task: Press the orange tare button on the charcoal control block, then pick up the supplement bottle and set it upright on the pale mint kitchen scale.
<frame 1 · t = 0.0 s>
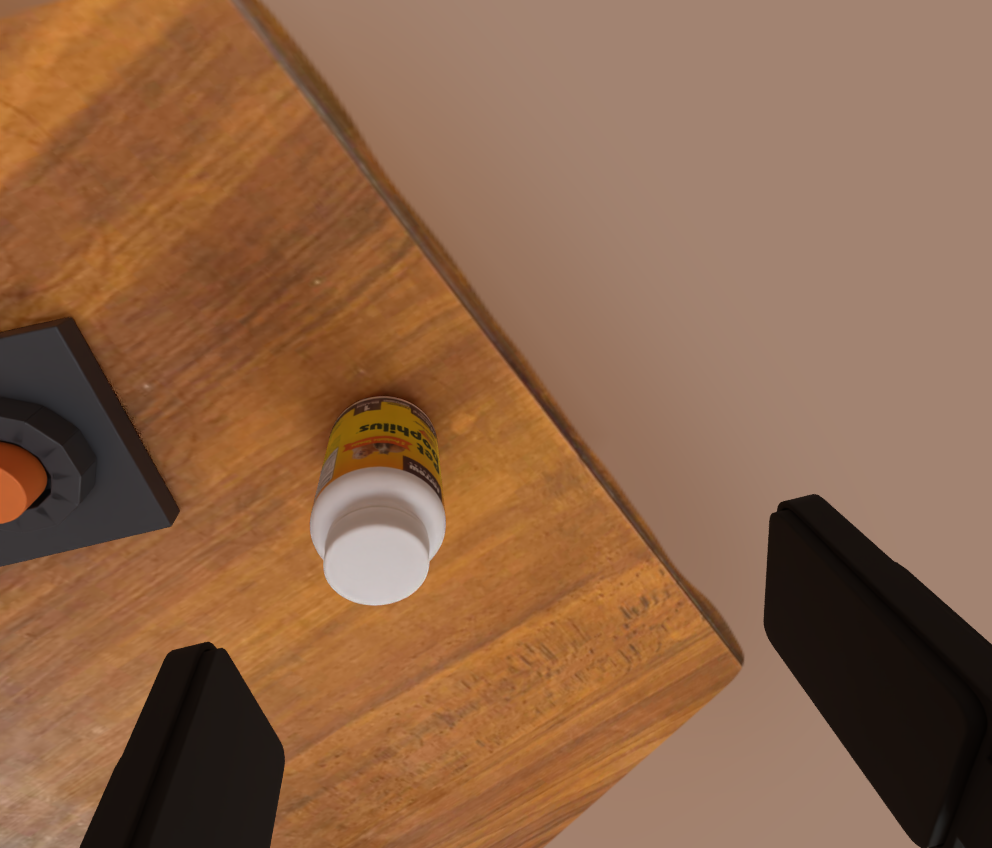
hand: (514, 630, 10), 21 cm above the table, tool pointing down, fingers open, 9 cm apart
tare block: (39, 443, 28), on the table
supplement bottle: (384, 436, 31), on the table
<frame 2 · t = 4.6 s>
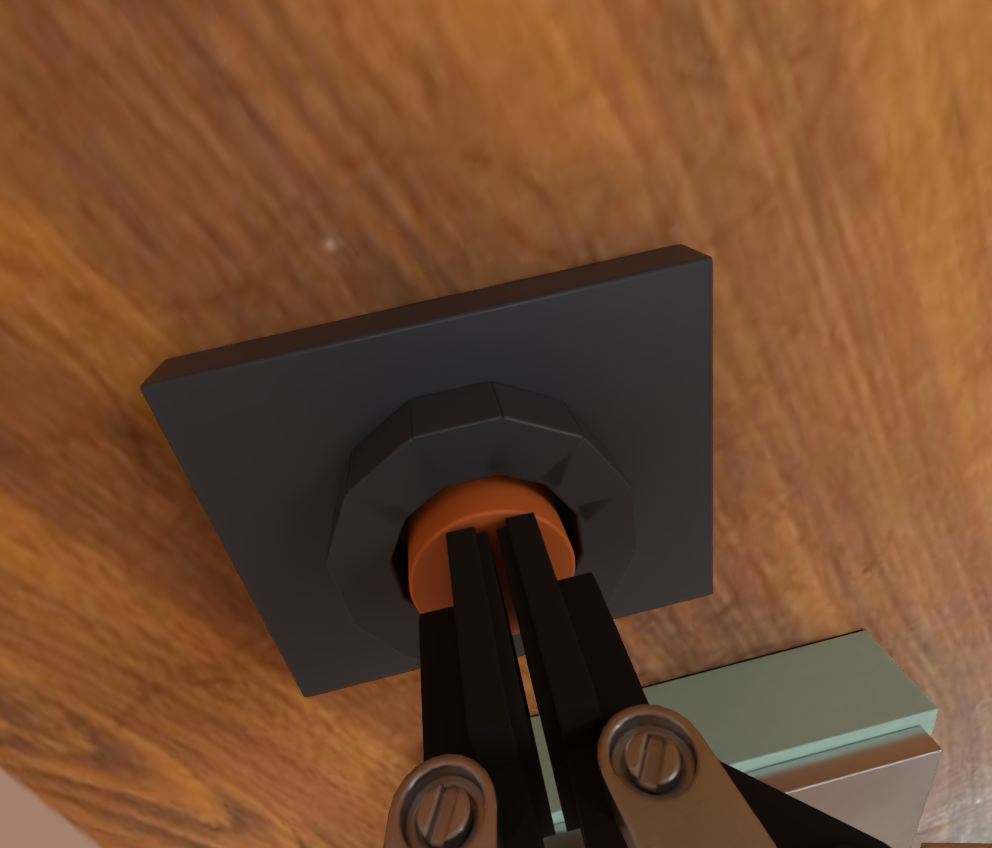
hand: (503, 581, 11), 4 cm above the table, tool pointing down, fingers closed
tare button: (487, 550, 12), point 3 cm above the table, slide at -0.6 cm, touching gripper
scale: (659, 810, 23), on the table
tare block: (472, 476, 14), on the table
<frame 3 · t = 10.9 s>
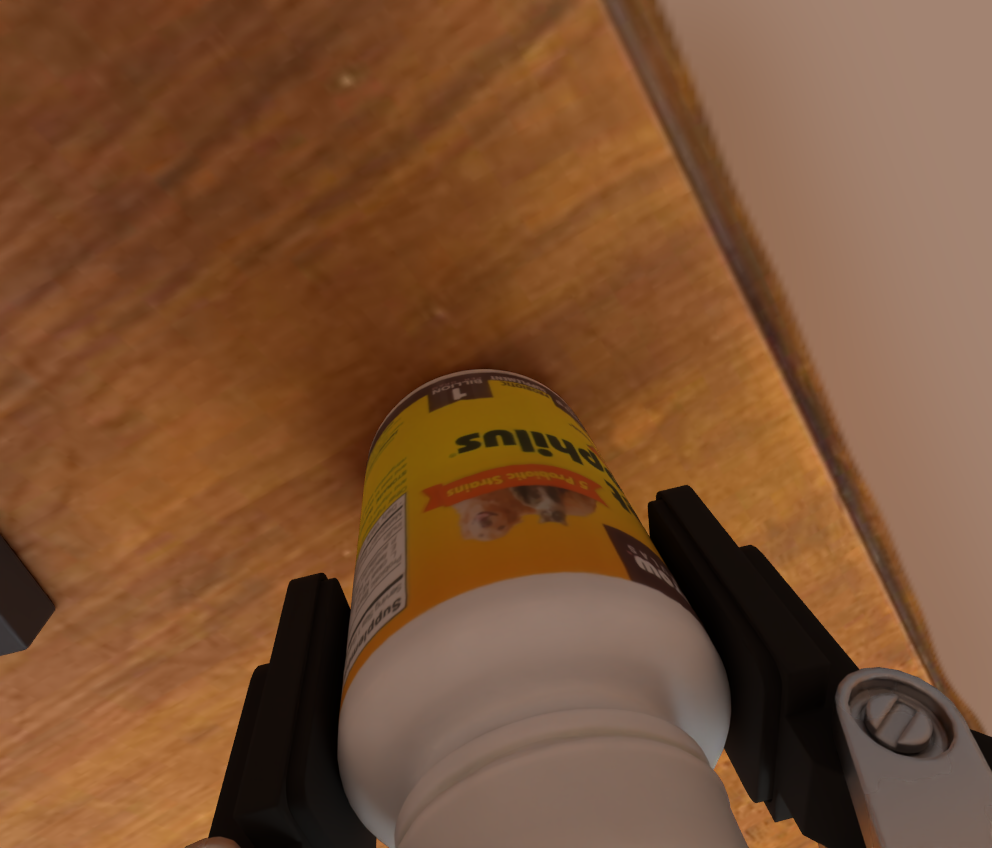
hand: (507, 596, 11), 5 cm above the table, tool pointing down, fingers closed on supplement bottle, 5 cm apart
supplement bottle: (475, 455, 15), on the table, touching gripper
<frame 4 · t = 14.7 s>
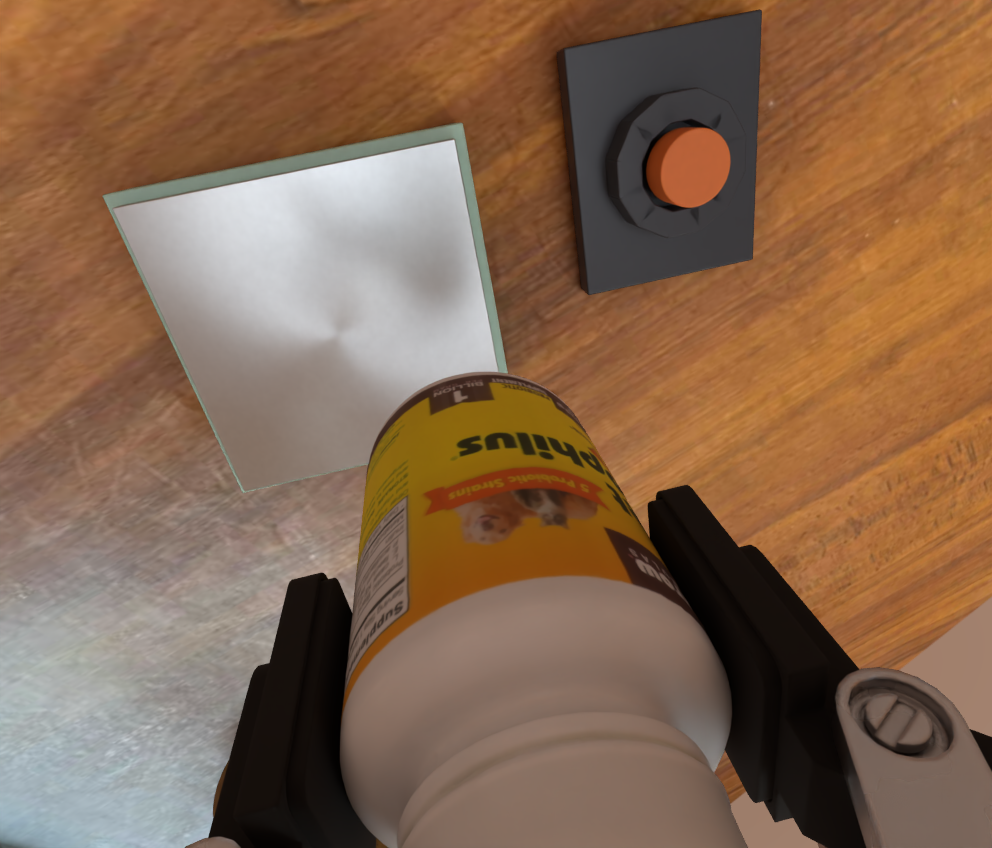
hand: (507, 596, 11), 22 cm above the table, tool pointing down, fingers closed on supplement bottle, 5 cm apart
tare button: (687, 167, 26), point 4 cm above the table, slide at 0.1 cm
scale: (344, 311, 30), on the table
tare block: (656, 162, 29), on the table
supplement bottle: (476, 457, 15), point 17 cm above the table, touching gripper
when the fingers open (9 cm above the table, at t = 18.7 s): supplement bottle stays where it is, resting on scale.
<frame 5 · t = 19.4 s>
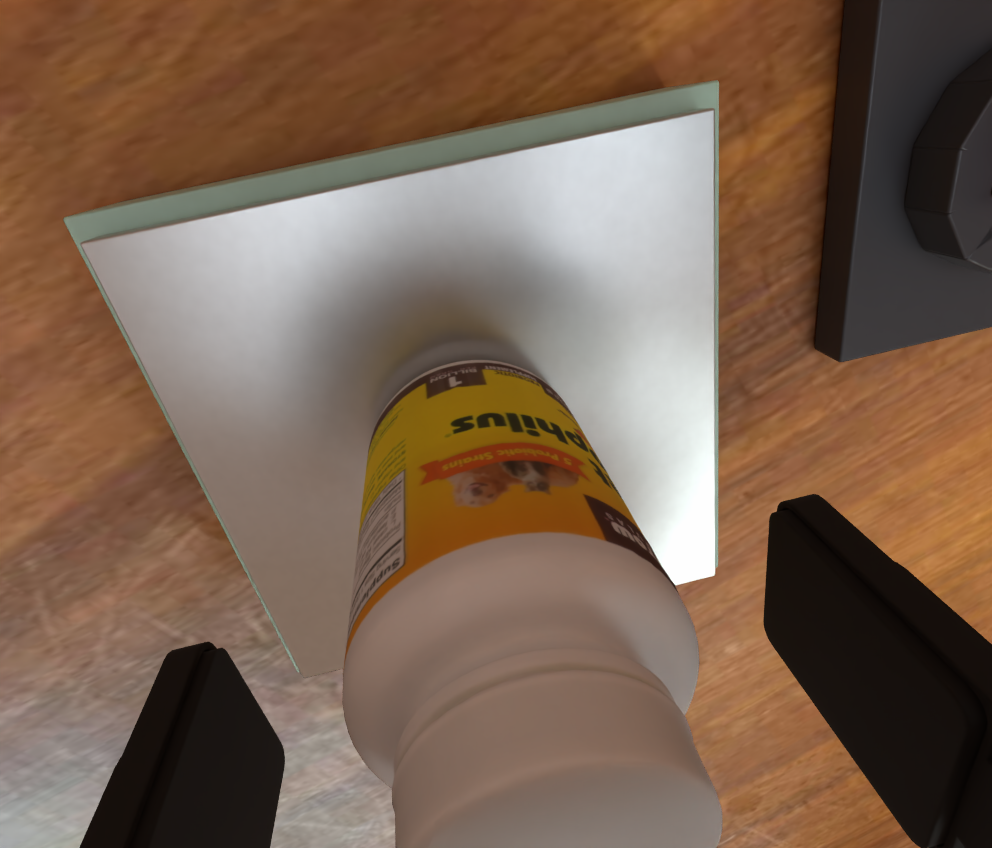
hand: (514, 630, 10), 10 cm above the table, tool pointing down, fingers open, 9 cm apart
scale: (457, 391, 19), on the table
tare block: (964, 153, 18), on the table
supplement bottle: (471, 442, 16), point 4 cm above the table, touching scale
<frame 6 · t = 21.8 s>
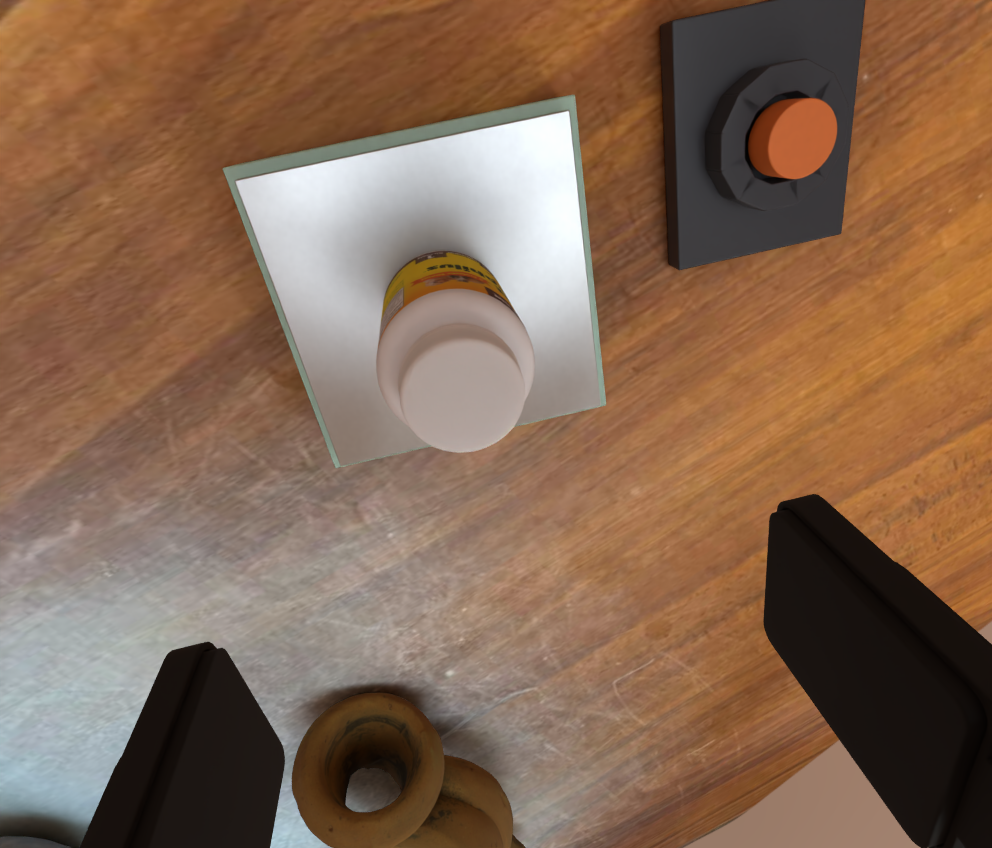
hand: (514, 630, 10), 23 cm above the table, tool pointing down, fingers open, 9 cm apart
tare button: (791, 139, 26), point 4 cm above the table, slide at 0.1 cm
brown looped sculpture: (429, 771, 49), on the table
scale: (437, 287, 30), on the table
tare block: (750, 137, 29), on the table
supplement bottle: (443, 306, 27), point 4 cm above the table, touching scale
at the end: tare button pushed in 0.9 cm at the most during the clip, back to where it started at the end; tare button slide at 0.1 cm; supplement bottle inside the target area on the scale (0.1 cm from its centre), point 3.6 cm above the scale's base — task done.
